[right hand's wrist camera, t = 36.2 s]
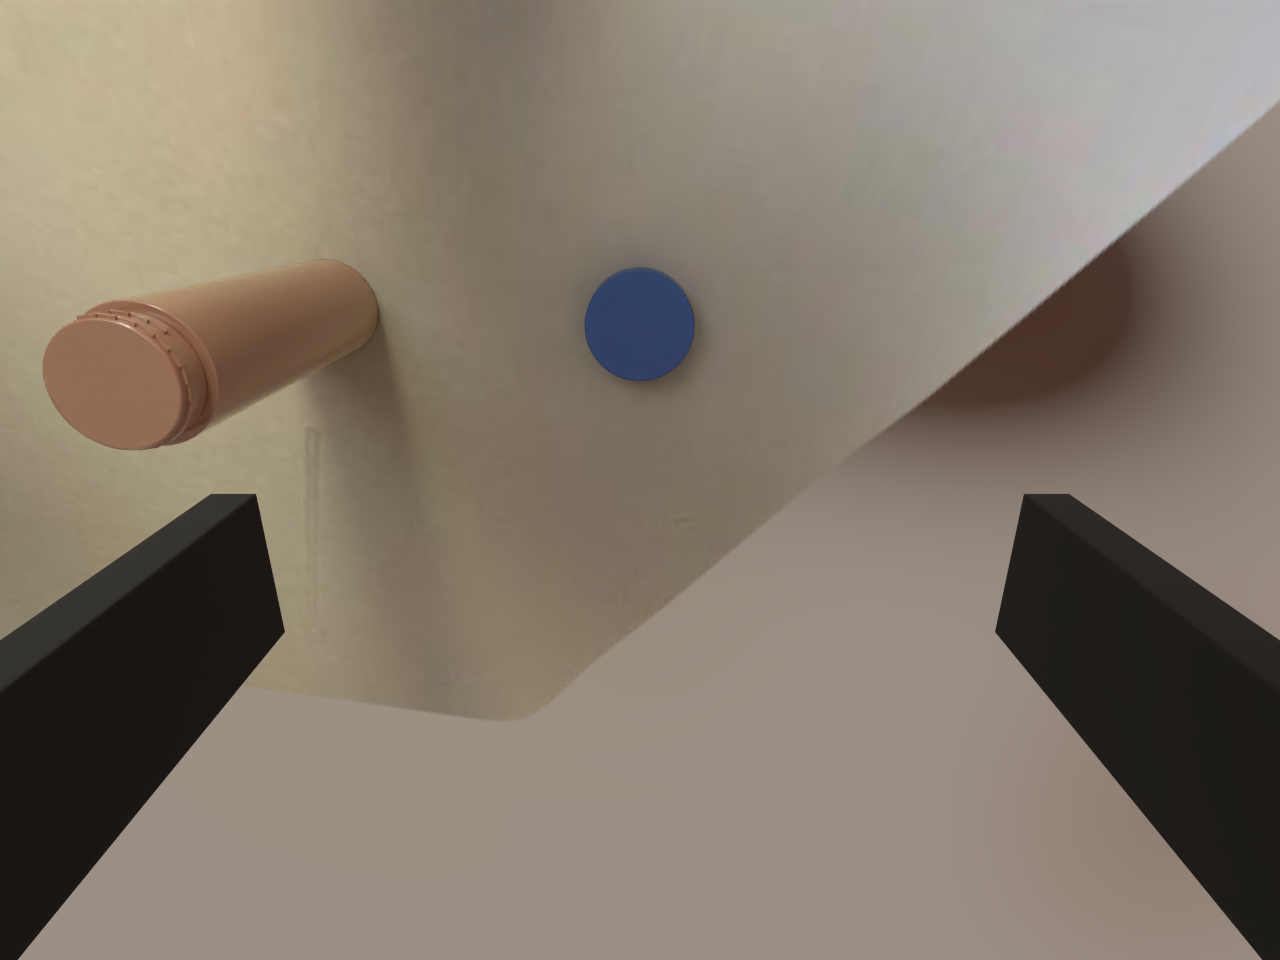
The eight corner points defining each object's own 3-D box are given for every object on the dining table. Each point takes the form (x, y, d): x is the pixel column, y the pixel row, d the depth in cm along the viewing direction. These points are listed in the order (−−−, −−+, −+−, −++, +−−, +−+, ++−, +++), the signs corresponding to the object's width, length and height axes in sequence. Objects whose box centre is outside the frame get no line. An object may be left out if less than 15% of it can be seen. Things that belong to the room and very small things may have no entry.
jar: (388, 346, 39) (215, 450, 23) (301, 358, 40) (70, 469, 24) (363, 253, 38) (157, 295, 22) (272, 266, 38) (1, 318, 22)
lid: (706, 351, 40) (709, 357, 38) (611, 388, 40) (609, 396, 39) (670, 250, 38) (671, 252, 36) (570, 291, 38) (567, 295, 37)
